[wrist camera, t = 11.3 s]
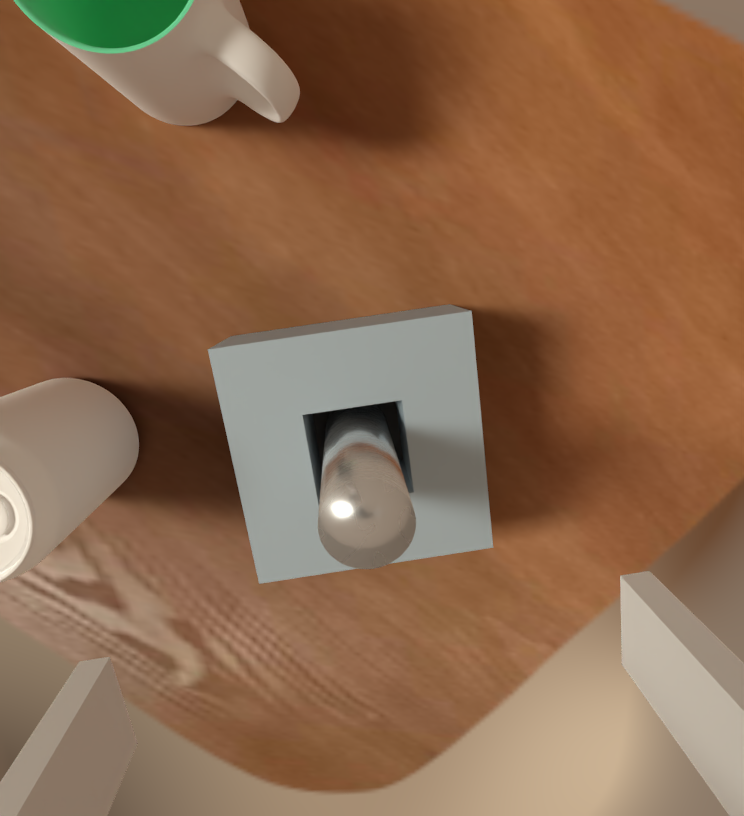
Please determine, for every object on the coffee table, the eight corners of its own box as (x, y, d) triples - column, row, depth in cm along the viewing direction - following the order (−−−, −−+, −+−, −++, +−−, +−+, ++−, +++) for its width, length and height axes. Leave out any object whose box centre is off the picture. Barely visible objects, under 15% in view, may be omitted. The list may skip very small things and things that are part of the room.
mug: (340, 59, 30) (338, -48, 20) (274, 190, 32) (243, 151, 22) (141, -73, 28) (29, -265, 18) (81, 74, 30) (-52, -28, 20)
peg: (321, 402, 35) (310, 487, 21) (382, 393, 35) (410, 471, 21) (331, 460, 36) (326, 576, 22) (390, 450, 36) (421, 560, 22)
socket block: (231, 336, 34) (207, 349, 28) (449, 304, 34) (471, 310, 28) (272, 535, 37) (259, 583, 31) (469, 504, 37) (493, 547, 32)
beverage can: (5, 375, 34) (-174, 429, 22) (137, 375, 34) (30, 429, 22) (24, 494, 35) (-131, 602, 24) (148, 493, 36) (55, 599, 24)
